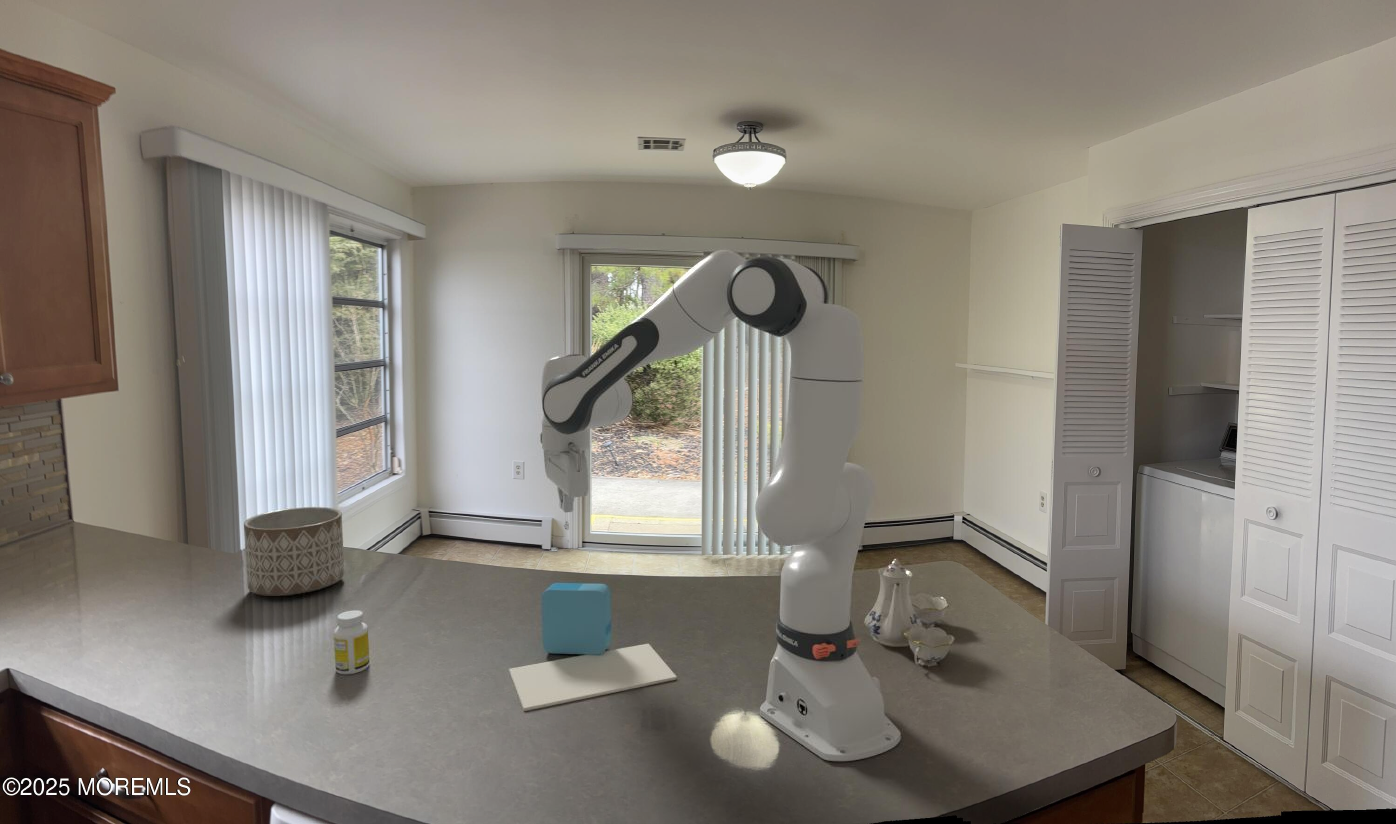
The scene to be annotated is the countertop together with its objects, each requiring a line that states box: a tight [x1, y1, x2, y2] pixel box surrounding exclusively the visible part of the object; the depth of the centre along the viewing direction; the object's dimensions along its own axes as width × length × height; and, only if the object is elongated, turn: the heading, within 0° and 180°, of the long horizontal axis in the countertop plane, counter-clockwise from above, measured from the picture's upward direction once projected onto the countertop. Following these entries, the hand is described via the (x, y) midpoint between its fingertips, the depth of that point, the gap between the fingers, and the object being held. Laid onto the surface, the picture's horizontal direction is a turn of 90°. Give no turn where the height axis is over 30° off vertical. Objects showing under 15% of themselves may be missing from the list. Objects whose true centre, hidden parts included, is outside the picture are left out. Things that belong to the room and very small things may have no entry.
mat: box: [508, 643, 678, 712], centre depth 121 cm, size 14×26×1 cm, turn 114°
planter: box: [243, 506, 345, 597], centre depth 159 cm, size 19×19×16 cm
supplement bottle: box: [333, 609, 370, 675], centre depth 122 cm, size 5×5×10 cm
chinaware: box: [864, 558, 956, 668], centre depth 136 cm, size 28×17×17 cm, turn 168°
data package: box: [541, 582, 612, 655], centre depth 129 cm, size 12×4×12 cm, turn 83°
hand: (566, 510), depth 134 cm, fingers closed
